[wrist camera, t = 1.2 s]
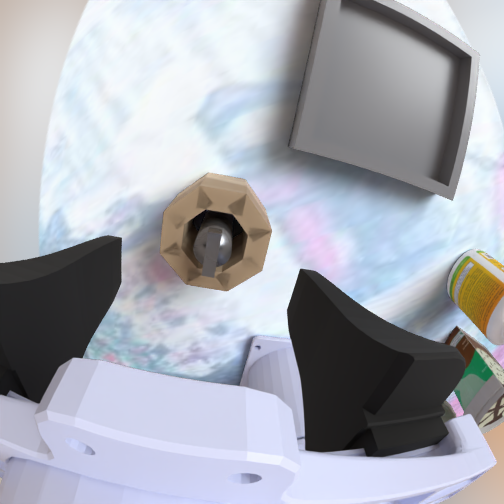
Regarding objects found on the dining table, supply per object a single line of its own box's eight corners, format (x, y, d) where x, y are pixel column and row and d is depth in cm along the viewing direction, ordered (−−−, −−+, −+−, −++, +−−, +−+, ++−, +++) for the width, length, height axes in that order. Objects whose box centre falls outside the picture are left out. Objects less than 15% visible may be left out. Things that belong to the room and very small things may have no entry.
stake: (229, 236, 19) (226, 279, 14) (202, 231, 19) (189, 273, 13) (236, 203, 18) (235, 236, 13) (207, 198, 18) (194, 229, 13)
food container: (410, 365, 25) (451, 439, 16) (450, 321, 23) (504, 390, 14) (457, 383, 28) (489, 437, 19) (488, 349, 26) (527, 400, 17)
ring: (252, 263, 20) (255, 295, 16) (172, 249, 19) (157, 279, 15) (270, 184, 18) (279, 200, 14) (182, 168, 17) (167, 180, 13)
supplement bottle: (444, 308, 22) (501, 378, 14) (444, 260, 20) (518, 328, 12) (483, 286, 22) (542, 344, 13) (486, 238, 20) (559, 292, 11)
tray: (436, 193, 18) (452, 200, 16) (288, 146, 17) (294, 149, 15) (463, 56, 13) (479, 53, 12) (323, -13, 12) (332, -25, 10)
